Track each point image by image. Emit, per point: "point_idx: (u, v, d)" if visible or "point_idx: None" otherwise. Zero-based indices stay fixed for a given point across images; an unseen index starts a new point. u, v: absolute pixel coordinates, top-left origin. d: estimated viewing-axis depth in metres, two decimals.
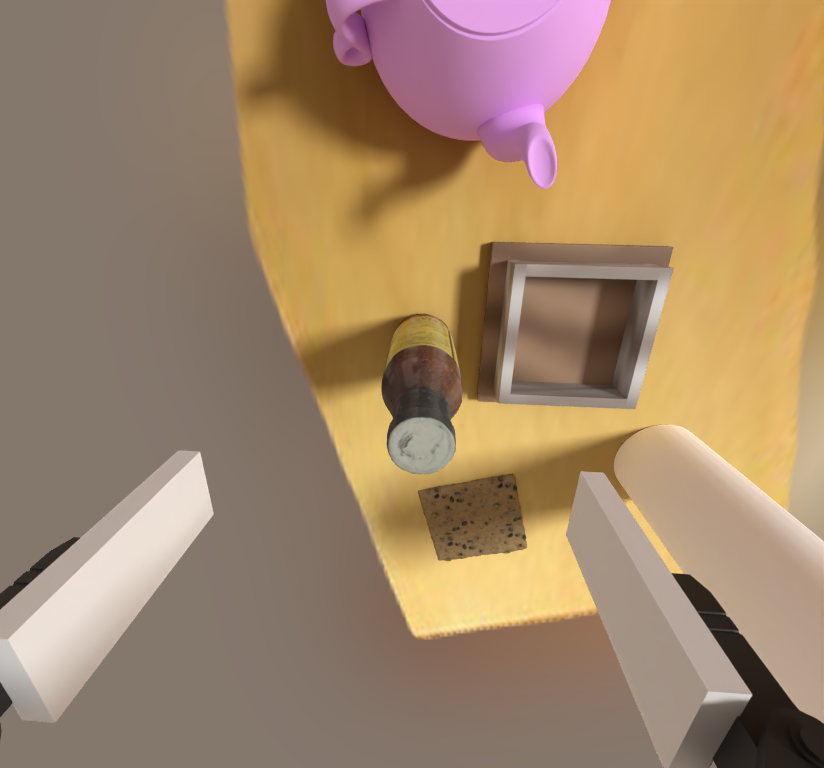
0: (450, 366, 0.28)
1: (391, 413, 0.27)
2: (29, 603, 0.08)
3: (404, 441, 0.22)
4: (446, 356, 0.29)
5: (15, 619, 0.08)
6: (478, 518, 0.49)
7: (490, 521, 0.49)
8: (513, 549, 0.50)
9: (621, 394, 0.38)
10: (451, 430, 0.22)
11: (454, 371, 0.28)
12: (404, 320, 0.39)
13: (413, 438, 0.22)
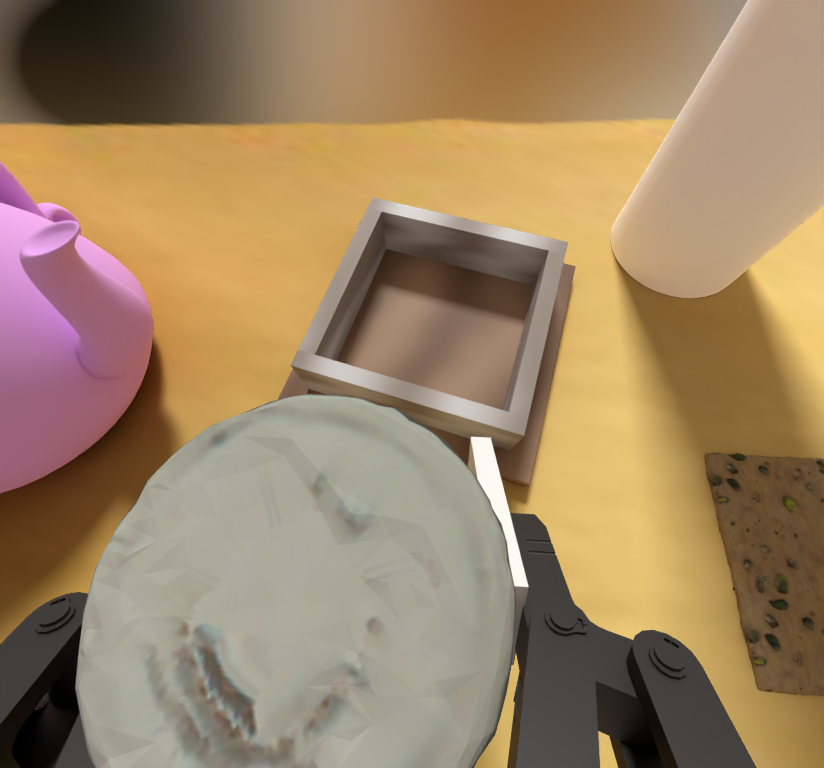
0: None
1: None
2: None
3: (206, 705, 0.03)
4: None
5: None
6: None
7: None
8: None
9: (543, 262, 0.25)
10: None
11: None
12: None
13: (218, 623, 0.03)
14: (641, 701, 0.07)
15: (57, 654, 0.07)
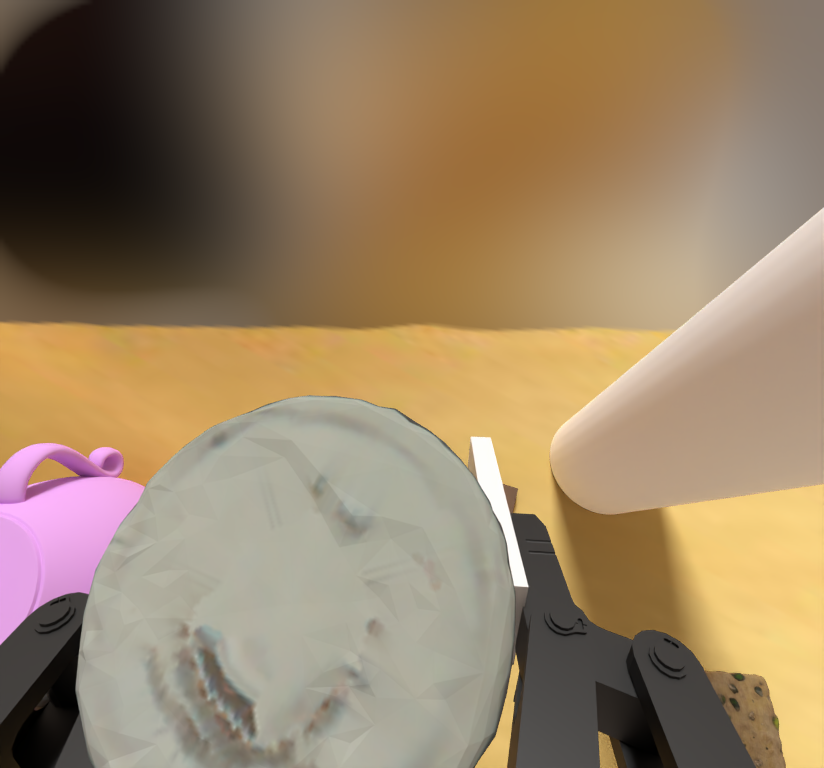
0: None
1: None
2: None
3: (207, 707, 0.03)
4: None
5: None
6: None
7: None
8: (768, 706, 0.29)
9: None
10: None
11: None
12: None
13: (218, 624, 0.03)
14: (641, 701, 0.07)
15: (57, 654, 0.07)
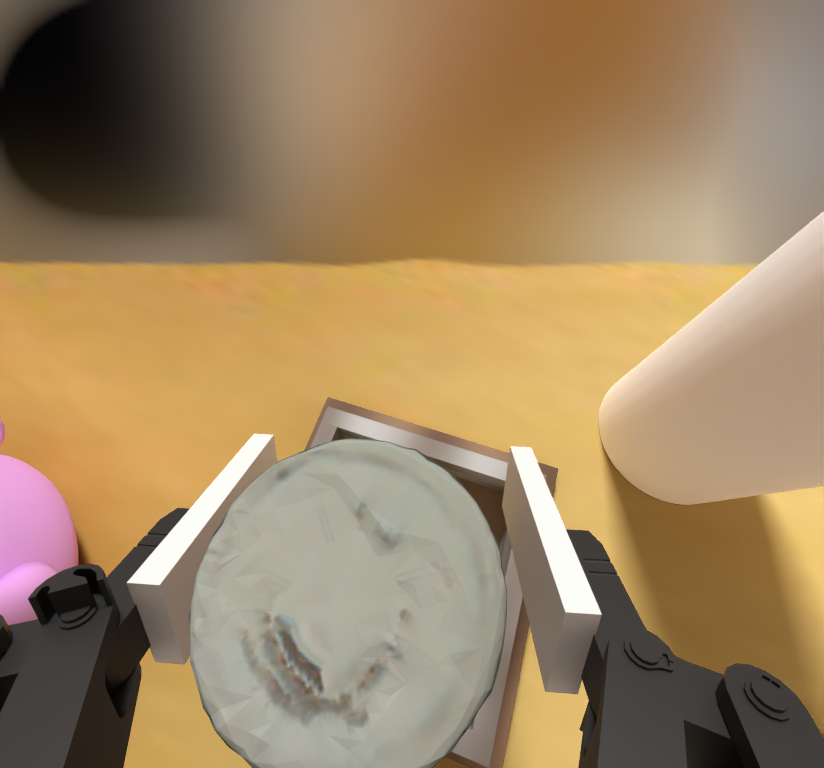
0: None
1: None
2: (167, 557, 0.09)
3: (287, 671, 0.04)
4: None
5: (159, 570, 0.09)
6: None
7: None
8: None
9: None
10: None
11: None
12: None
13: (291, 613, 0.05)
14: (742, 745, 0.07)
15: None
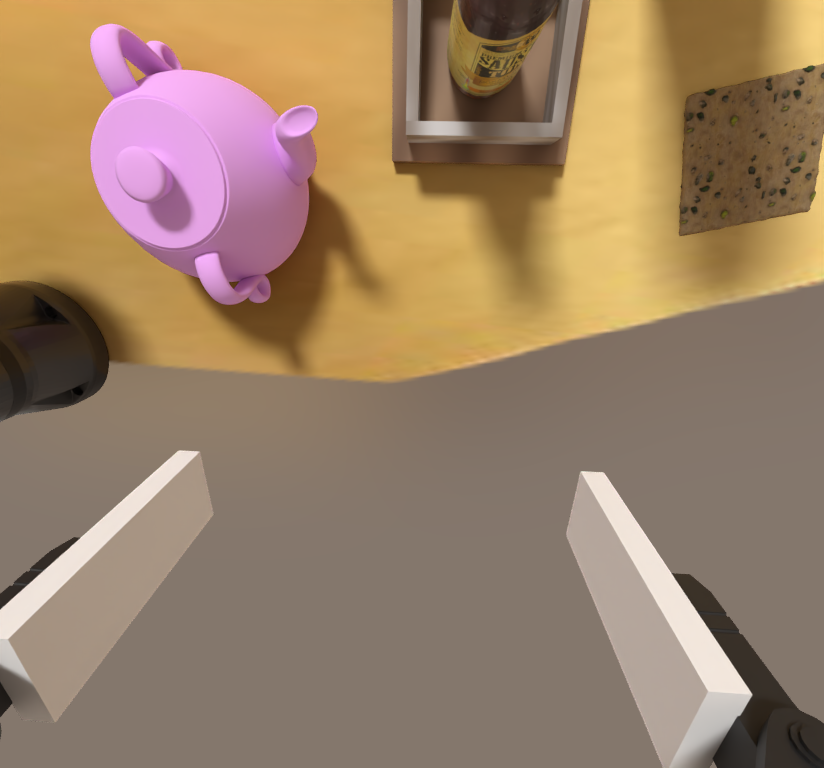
0: None
1: None
2: (29, 603, 0.08)
3: None
4: None
5: (15, 619, 0.08)
6: (748, 149, 0.35)
7: (759, 129, 0.35)
8: None
9: None
10: None
11: None
12: (453, 81, 0.33)
13: None
14: None
15: None
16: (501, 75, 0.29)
